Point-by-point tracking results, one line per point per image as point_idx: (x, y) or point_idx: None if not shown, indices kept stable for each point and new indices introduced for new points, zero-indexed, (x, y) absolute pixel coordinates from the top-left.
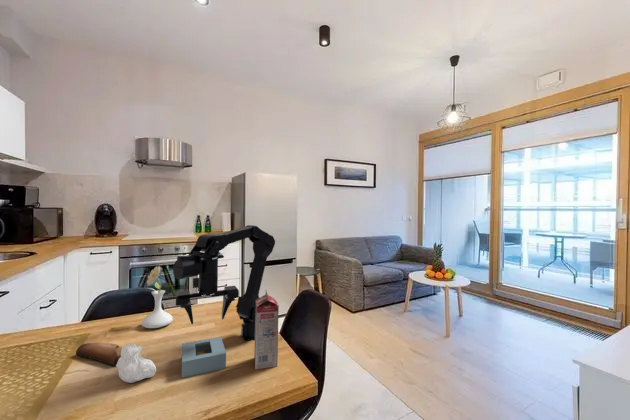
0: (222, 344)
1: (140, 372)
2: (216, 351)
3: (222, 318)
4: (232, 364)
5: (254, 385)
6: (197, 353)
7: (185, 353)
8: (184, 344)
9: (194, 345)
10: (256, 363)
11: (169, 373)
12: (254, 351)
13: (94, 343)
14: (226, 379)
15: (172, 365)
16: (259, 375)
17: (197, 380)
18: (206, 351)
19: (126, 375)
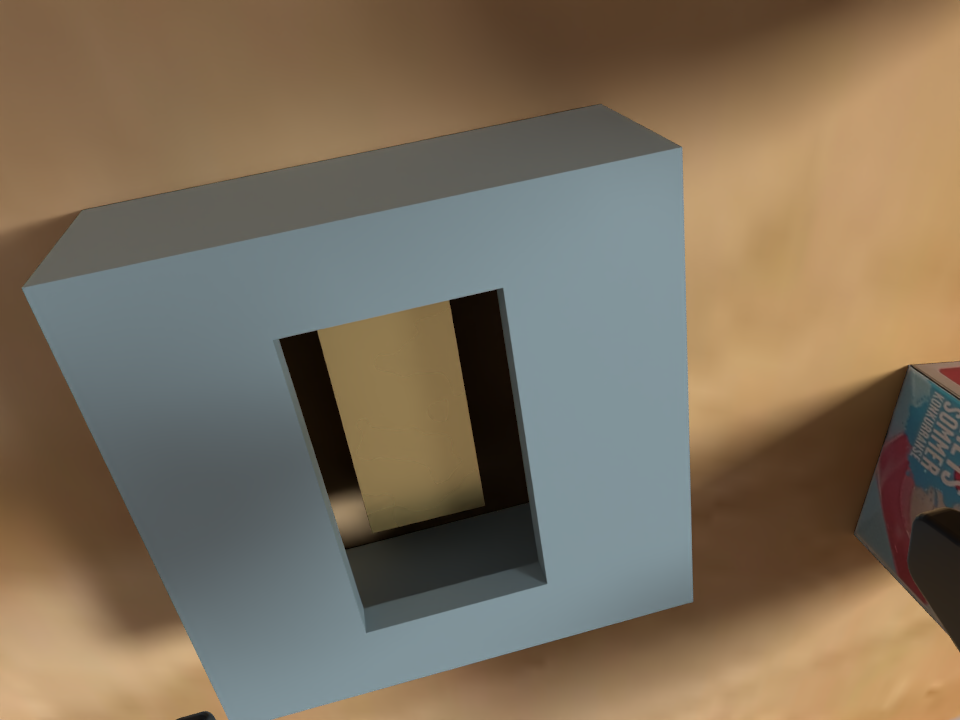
0: (676, 411)
1: None
2: (594, 566)
3: (928, 595)
4: (694, 447)
5: (788, 691)
6: (329, 363)
7: (210, 580)
8: (86, 329)
9: (277, 385)
10: (892, 568)
11: (80, 522)
12: (956, 406)
13: None
14: (621, 631)
15: (38, 381)
16: (853, 604)
17: None
18: (443, 332)
19: None
